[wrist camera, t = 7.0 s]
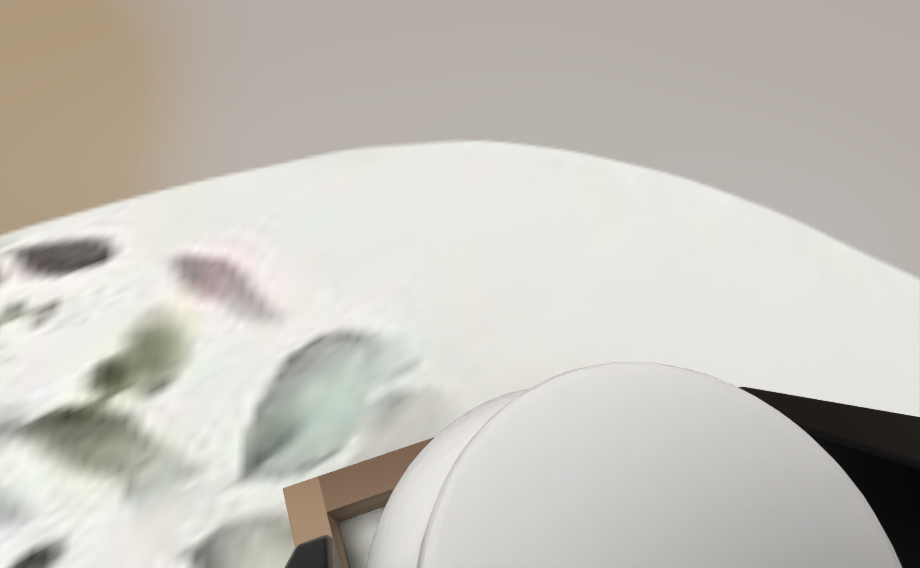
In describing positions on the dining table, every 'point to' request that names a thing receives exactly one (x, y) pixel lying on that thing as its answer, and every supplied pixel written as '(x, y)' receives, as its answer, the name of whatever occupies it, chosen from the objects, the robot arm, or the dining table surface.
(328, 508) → the walnut collar
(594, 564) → the supplement bottle
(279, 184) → the dining table surface
